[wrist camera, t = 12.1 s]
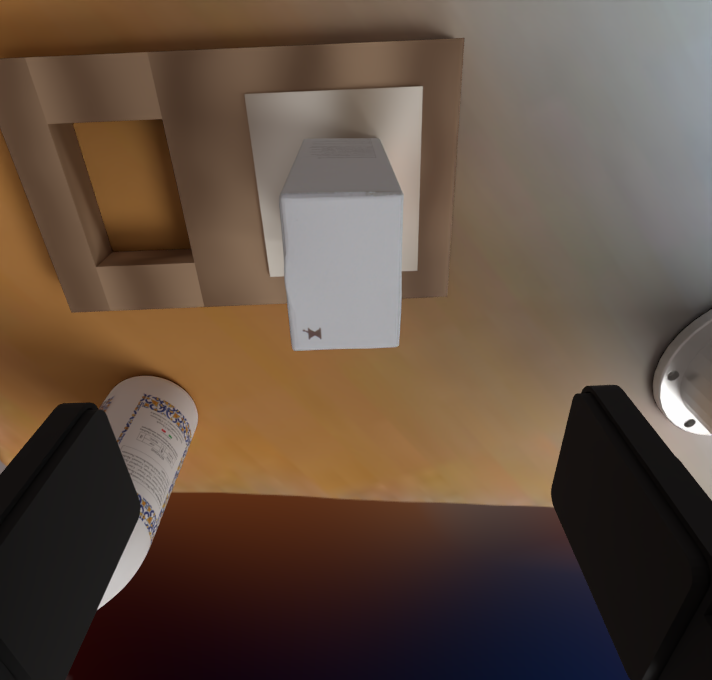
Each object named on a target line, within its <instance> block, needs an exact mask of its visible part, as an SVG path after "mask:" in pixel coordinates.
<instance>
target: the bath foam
mask: <svg viewBox="0 0 712 680" xmlns="http://www.w3.org/2000/svg"><path fill="white" fill-rule="evenodd" d="M99 409H100V410H103V411H104V412H105V413H106V415H107V417H108V420H109V422H110V425H111V427H112V430H113V432H114V435H115V438H116V440H117V443H118V445H119V448H120V451H121V453H122V456H123V458H124V461H125V463H126V466H127V469H128V471H129V474H130V476H131V479H132V482H133V484H134V487H135V489H136V492H137V494H138V497H139V500H140V505H141V509H140V516H139V519H138V521H137V523H136V526H135V528H134V530H133V532H132V534H131V537H130V539H129V541H128V543H127V545H126V548H125V550H124V552H123V554H122V556H121V558H120V561H119V563H118V565H117V567H116V569H115V572H114V574H113V576H112V578H111V580H110V583H109V585H108V587H107V589H106V591H105V593H104V596H103V598H102V600H101V602H100V604H99V607H98V609H99V608H100V607H102V606H103V605H104V604H106V603H107V602H108V601H109V600H111V599H112V598H113V597H114V596H115V595H116V594H117V593H119V591H120V590H121V589H122V588H124V587H125V585H126V584H127V583H128V582H129V581H130V580H131V578H132V577H133V576H134V574H135V573H136V571H137V570H138V568H139V567H140V565H141V563H142V562H143V560H144V558H145V556H146V554H147V552H148V551H149V549H150V546H151V543H152V541H153V538H154V536H155V533H156V531H157V528H158V525H159V523H160V520H161V517H162V515H163V512H164V510H165V507H166V505H167V502H168V499H169V497H170V494H171V492H172V489H173V487H174V484H175V482H176V479H177V477H178V474H179V471H180V469H181V466H182V464H183V461H184V459H185V456H186V453H187V451H188V448H189V446H190V443H191V440H192V437H193V435H194V432H195V430H196V427H197V423H198V413H197V409H196V406H195V403H194V401H193V399H192V398H191V397H190V395H189V394H188V393H187V392H186V391H185V390H184V389H182V388H181V387H180V386H178V385H177V384H175V383H173V382H171V381H169V380H166V379H163V378H160V377H155V376H136V377H132V378H129V379H126V380H124V381H122V382H120V383H119V384H118V385H116V386H115V387H114V388H113V389H112V391H111V392H110V393H109V395H108V396H107V398H106V399H105V401H104V402H103V403H102V405H101V406H100V407H99ZM98 609H97V610H98Z"/></svg>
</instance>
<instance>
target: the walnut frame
mask: <svg viewBox="0 0 712 680" xmlns="http://www.w3.org/2000/svg"><path fill="white" fill-rule="evenodd" d="M463 51H464V38H454V39H431V40H409V41H386V42H364V43H341V44H319V45H296V46H274V47H251V48H229V49H206V50H184V51H161V52H139V53H116V54H94V55H71V56H49V57H26V58H4V59H0V128H1V131H2V134H3V136H4V139H5V141H6V144H7V147H8V149H9V152H10V154H11V157H12V160H13V162H14V165H15V167H16V170H17V172H18V175H19V178H20V180H21V183H22V185H23V188H24V191H25V193H26V196H27V198H28V201H29V204H30V206H31V209H32V211H33V214H34V216H35V219H36V222H37V224H38V227H39V229H40V232H41V235H42V237H43V240H44V242H45V245H46V248H47V250H48V253H49V255H50V258H51V260H52V263H53V266H54V268H55V271H56V273H57V276H58V279H59V281H60V284H61V286H62V289H63V292H64V294H65V297H66V299H67V302H68V304H69V307H70V310H71V312H95V311H119V310H142V309H166V308H190V307H213V306H237V305H261V304H285V303H287V294H286V289H285V281H284V255H283V243H282V231H281V220H280V209H279V196H280V193H281V191H282V189H283V186H284V184H285V182H286V179H287V177H288V175H289V173H290V170H291V168H292V165H293V163H294V161H295V158H296V156H297V154H298V152H299V149H300V147H301V144H302V142H303V140H304V139H314V138H379V139H380V140H381V143H382V145H383V147H384V150H385V152H386V154H387V156H388V159H389V161H390V164H391V166H392V168H393V171H394V173H395V175H396V178H397V181H398V183H399V185H400V187H401V190H402V192H403V194H404V201H403V233H402V299H403V298H427V297H447V293H448V278H449V263H450V248H451V233H452V218H453V203H454V187H455V172H456V157H457V142H458V127H459V112H460V96H461V81H462V66H463ZM151 119H162V120H163V125H164V129H165V134H166V138H167V143H168V147H169V152H170V156H171V160H172V165H173V169H174V174H175V178H176V183H177V187H178V192H179V196H180V201H181V205H182V209H183V214H184V218H185V223H186V227H187V232H188V236H189V241H190V245H191V249H172V250H149V251H126V252H113V251H112V248H111V245H110V242H109V239H108V236H107V232H106V229H105V226H104V223H103V220H102V216H101V213H100V210H99V207H98V204H97V201H96V197H95V194H94V191H93V188H92V185H91V181H90V178H89V175H88V172H87V169H86V165H85V162H84V159H83V156H82V153H81V150H80V146H79V143H78V140H77V137H76V134H75V130H74V127H73V124H72V123H83V122H106V121H128V120H151Z"/></svg>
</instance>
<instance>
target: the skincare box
mask: <svg viewBox="0 0 712 680" xmlns="http://www.w3.org/2000/svg"><path fill="white" fill-rule="evenodd" d="M403 201H404V194H403V192H402V190H401V187H400V185H399V183H398V181H397V178H396V175H395V173H394V171H393V168H392V166H391V164H390V161H389V159H388V156H387V154H386V152H385V150H384V147H383V145H382V143H381V140H380V139H379V138H314V139H304V140H303V142H302V144H301V147H300V149H299V152H298V154H297V156H296V158H295V161H294V163H293V165H292V168H291V170H290V173H289V175H288V177H287V179H286V182H285V184H284V186H283V189H282V191H281V193H280V196H279V209H280V220H281V231H282V243H283V255H284V281H285V289H286V294H287V305H288V315H289V325H290V334H291V343H292V348H293V350H294V351H303V350H323V349H362V348H388V347H397V346H398V345H399V335H400V321H401V300H402V233H403Z"/></svg>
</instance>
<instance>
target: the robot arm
mask: <svg viewBox="0 0 712 680" xmlns="http://www.w3.org/2000/svg"><path fill="white" fill-rule="evenodd" d="M653 395H654V399H655V401H656V404H657V406H658V408H659V409H660V410H661V411H662V413H663V414H664V415H665V417H666V418H667V419H668V420H669V421H670V422H671V423H672V424H674V425H675V426H677V427H678V428H680V429H682V430H684V431H687V432H691V433H694V434H699V435H708V436H712V309H711V310H709V311H708V312H706V313H705V314H703V315H702V316H700V317H699V318H697V319H696V320H694V321H693V322H692V323H691V324H690V325H688V326H687V327H686V328H685V329H684V330H683V331H682V332H680V333H679V335H678V336H677V337H676V338H675V339H674V340H673V341H672V343H671V344H670V345H669V346H668V348H667V349H666V351H665V352H664V354H663V356H662V357H661V359H660V361H659V363H658V366H657V368H656V371H655V374H654V380H653ZM551 497H552V502H553V506H554V508H555V511H556V513H557V515H558V518H559V520H560V522H561V524H562V527H563V529H564V531H565V534H566V536H567V538H568V540H569V543H570V545H571V547H572V550H573V552H574V554H575V556H576V559H577V561H578V563H579V565H580V568H581V570H582V572H583V575H584V577H585V579H586V581H587V583H588V586H589V588H590V591H591V593H592V595H593V598H594V600H595V602H596V604H597V606H598V609H599V611H600V613H601V616H602V618H603V620H604V623H605V625H606V627H607V629H608V632H609V634H610V636H611V639H612V641H613V643H614V645H615V648H616V650H617V652H618V654H619V657H620V659H621V661H622V664H623V666H624V668H625V671H626V673H627V675H628V677H629V678H630V679H631V680H712V501H711V499H710V498H709V497H708V496H707V494H706V493H705V492H704V490H703V489H702V488H701V487H700V485H699V484H698V483H697V482H696V480H695V479H694V478H693V477H692V475H691V474H690V473H689V472H688V470H687V469H686V468H685V467H684V465H683V464H682V463H681V461H680V460H679V459H678V458H677V457H676V456H675V455H674V454H673V453H672V452H671V450H670V449H669V448H668V447H667V445H666V444H665V443H664V442H663V440H662V439H661V438H660V436H659V435H658V434H657V433H656V431H655V430H654V429H653V428H652V426H651V425H650V424H649V423H648V421H647V420H646V419H645V417H644V416H643V415H642V414H641V412H640V411H639V410H638V409H637V407H636V406H635V405H634V404H633V402H632V401H631V400H630V398H629V397H628V396H627V395H626V393H625V392H624V391H623V390H622V389H621V388H620V387H619V386H617V385H599V386H586V387H585V388H584V389H583V390H582V393H580V394H575V396H574V397H573V400H572V405H571V409H570V413H569V417H568V421H567V425H566V430H565V434H564V438H563V442H562V446H561V450H560V455H559V459H558V463H557V467H556V471H555V475H554V480H553V484H552V489H551ZM140 509H141V505H140V500H139V497H138V494H137V492H136V489H135V487H134V484H133V482H132V479H131V476H130V474H129V471H128V469H127V466H126V463H125V461H124V458H123V456H122V453H121V451H120V448H119V445H118V443H117V440H116V438H115V435H114V432H113V430H112V427H111V425H110V422H109V420H108V417H107V415H106V413H105V412H104V411H103V410H100V409H98V408H97V406H96V405H95V404H94V403H63V404H60V405H58V406H57V407H56V408H55V409H54V410H53V412H52V413H51V414H50V415H49V417H48V418H47V419H46V420H45V421H44V423H43V424H42V425H41V426H40V427H39V429H38V430H37V431H36V432H35V433H34V435H33V436H32V437H31V438H30V439H29V441H28V442H27V443H26V444H25V445H24V447H23V448H22V449H21V450H20V452H19V453H18V454H17V455H16V456H15V458H14V459H13V460H12V461H11V462H10V464H9V465H8V466H7V467H6V468H5V470H4V471H3V472H2V473H1V474H0V680H65V679H66V677H67V674H68V672H69V670H70V668H71V666H72V664H73V661H74V659H75V657H76V655H77V652H78V650H79V648H80V646H81V644H82V641H83V639H84V637H85V635H86V633H87V630H88V628H89V626H90V624H91V622H92V620H93V617H94V615H95V613H96V611H97V609H98V607H99V604H100V602H101V600H102V598H103V596H104V593H105V591H106V589H107V587H108V585H109V583H110V580H111V578H112V576H113V574H114V572H115V569H116V567H117V565H118V563H119V561H120V558H121V556H122V554H123V552H124V550H125V548H126V545H127V543H128V541H129V539H130V537H131V534H132V532H133V530H134V528H135V526H136V523H137V521H138V519H139V516H140Z"/></svg>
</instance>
